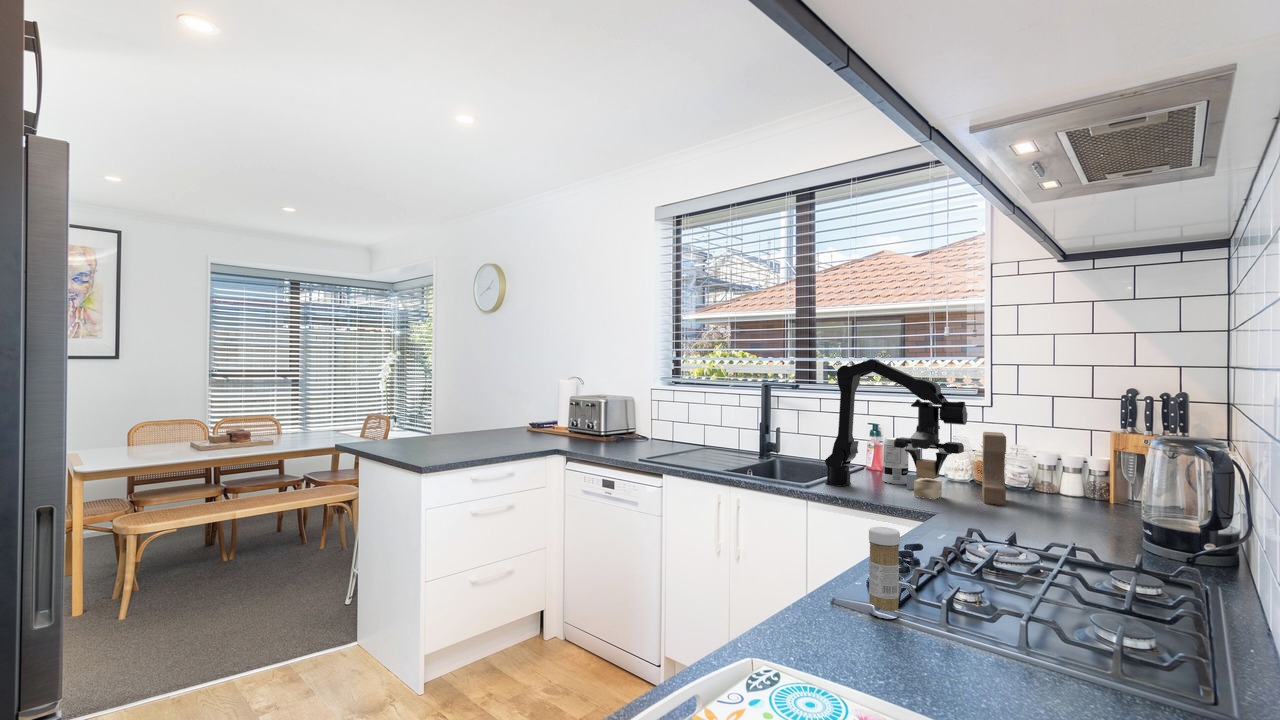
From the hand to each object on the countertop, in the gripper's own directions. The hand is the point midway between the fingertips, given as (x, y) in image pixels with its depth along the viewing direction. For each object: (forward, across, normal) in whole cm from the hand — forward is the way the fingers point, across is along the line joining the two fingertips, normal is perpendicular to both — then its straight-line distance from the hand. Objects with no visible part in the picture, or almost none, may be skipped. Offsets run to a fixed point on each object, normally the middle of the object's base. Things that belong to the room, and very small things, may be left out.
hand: (927, 473), depth 188 cm
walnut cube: (+1, 0, 0) cm, 1 cm away
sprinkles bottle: (+7, +27, -100) cm, 104 cm away
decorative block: (+7, +16, +8) cm, 19 cm away
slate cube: (+7, -7, +10) cm, 14 cm away
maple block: (+7, 0, 0) cm, 7 cm away
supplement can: (+7, -16, +16) cm, 24 cm away
